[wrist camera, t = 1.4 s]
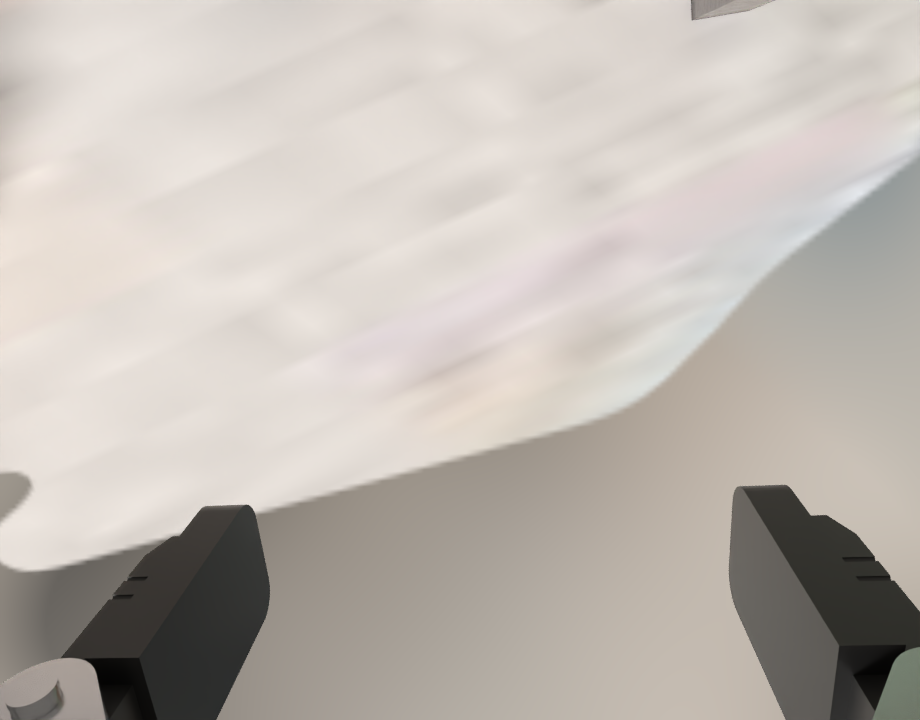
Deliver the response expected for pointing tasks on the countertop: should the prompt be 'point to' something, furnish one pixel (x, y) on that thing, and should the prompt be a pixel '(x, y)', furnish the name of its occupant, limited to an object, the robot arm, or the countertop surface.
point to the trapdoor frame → (722, 7)
